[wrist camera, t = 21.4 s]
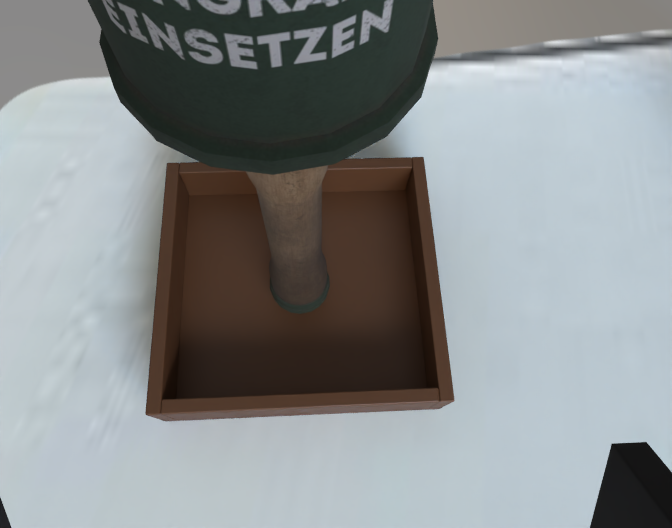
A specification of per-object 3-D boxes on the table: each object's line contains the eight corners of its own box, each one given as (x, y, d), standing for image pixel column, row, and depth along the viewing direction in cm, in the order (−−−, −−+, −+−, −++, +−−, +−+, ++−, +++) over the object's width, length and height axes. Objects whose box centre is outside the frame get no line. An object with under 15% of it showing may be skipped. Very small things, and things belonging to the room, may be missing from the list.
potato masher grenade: (213, 332, 32) (-483, -559, 4) (261, 214, 35) (43, -748, 7) (343, 374, 31) (531, -367, 4) (381, 250, 35) (641, -666, 7)
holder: (413, 186, 37) (423, 156, 34) (439, 408, 32) (454, 401, 28) (181, 191, 37) (166, 162, 33) (164, 421, 31) (144, 415, 27)
